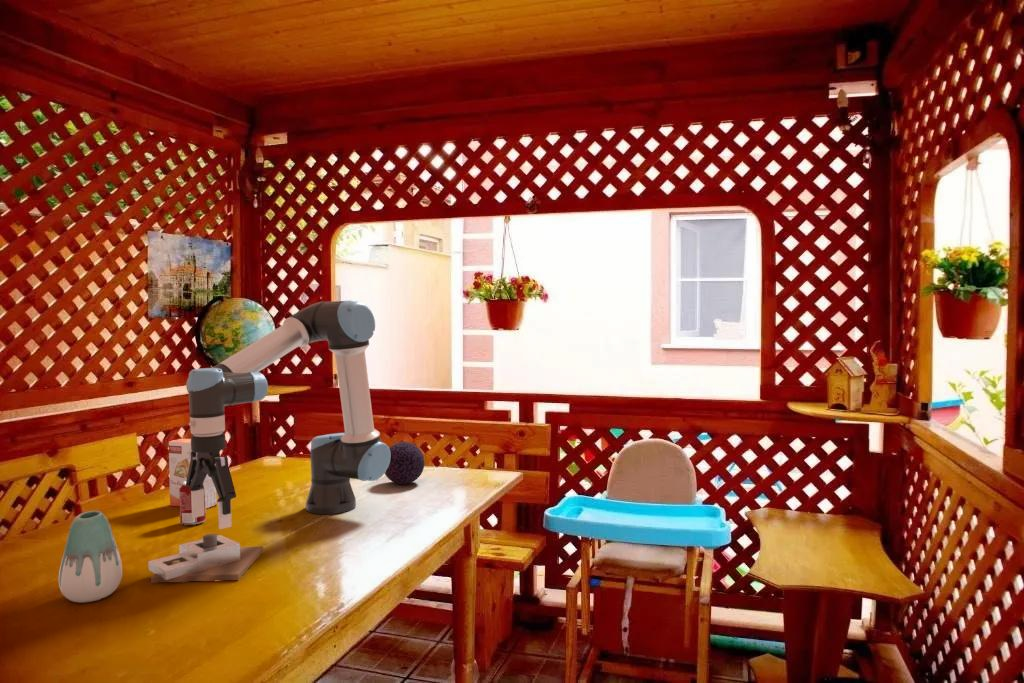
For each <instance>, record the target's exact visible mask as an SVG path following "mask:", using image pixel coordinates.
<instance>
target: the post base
mask: <svg viewBox="0 0 1024 683" xmlns="http://www.w3.org/2000/svg"><path fill="white" fill-rule="evenodd" d="M217 536H218V535H217V534H216V533H209V534H205V535H203V536H202V539H203V549H206V548H210V547H214V546H217ZM263 548H264V547H263V546H240V560H238V561H235V562H231V563H228V564H224V565H220V566H217V567H213V568H209V569H206V570H202V571H197V572H193V573H190V574H186V575H182V576H179V577H175V578H172V579H168V580H165V579H163V578H162V577H160V576H158V575H157V574H155V573H153V575H152V576H150V577H151V579H150V580H151V584H157V583H156V582H182V583H189V582H188V581H214V582H216V581H215V580H222V581H221V582H224V581H223V580H239V579H240V578H242V577H243V576H244V575H245V574H246V573H247V572H248V571H249V569H250V568H251V567H252V566H253V565H254V563H255V562H256V561H257V560H258V559H259V558H260V556H261V555H262V554H263V553H262V552H263V551H264V549H263ZM261 553H262V554H261ZM260 554H261V555H260ZM257 558H258V559H257ZM256 559H257V560H256ZM255 560H256V561H255ZM254 561H255V562H254ZM253 562H254V563H253ZM177 563H180V561H179V560H175V561H172V565H173V564H177ZM251 565H252V566H251ZM250 566H251V567H250ZM249 567H250V568H249ZM248 568H249V569H248ZM245 572H246V573H245ZM244 573H245V574H244ZM243 574H244V575H243ZM242 575H243V576H242ZM240 580H241V579H240ZM240 580H239V581H240Z"/></svg>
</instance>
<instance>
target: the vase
mask: <svg viewBox="0 0 1024 683" xmlns="http://www.w3.org/2000/svg"><path fill="white" fill-rule="evenodd" d="M111 527H112V526H111V523H110V522H109V520H108V518H107V517H106V515H105V514H104V513H103V512H102V511H101V510H89V511H88V510H87V511H85V512H81V513H80V514H78V515H76V516H75V517H74V519H73V520H72V522H71V523H70V528H69V531H68V533H67V539H66V543H65V547H64V550H63V555H62V558H61V563H60V567H59V571H58V587H59V590H60V593H61V594H62V595H63V596H64V597H65V598H66V599H67V600H68V601H71V602H73V603H83V604H84V603H92V602H96V601H100V600H103V599H106V598H107V597H109V596H110V595H111V594H113V593H114V592H115V591H117V589H118V587H119V585H120V583H121V581H122V578H123V563H122V558H121V555H120V551H119V547H118V545H117V543H116V540H115V538H114V534H113V530H112V528H111ZM102 598H103V599H102Z"/></svg>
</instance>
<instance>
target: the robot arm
mask: <svg viewBox="0 0 1024 683" xmlns="http://www.w3.org/2000/svg"><path fill="white" fill-rule="evenodd" d="M375 330H376V320H375V316H374V313H373V312H372V310H371V309H370V307H369V306H367V304H365V303H363V302H362V301H357V300H356V301H354V300H340V301H339V300H338V301H337V300H336V301H319V302H316V303H313V304H311V305H308V306H306V307H304V308H302V309H301V310H299V311H297V312H296V313H294V314H292V315H290V316H289V317H287V318H286V319H284V321H283V322H282V325H280V326H279V327H277V328H275V329H273V330H272V331H271V332H269V333H267V334H266V335H264V336H262V337H260V338H259V339H257V340H256V341H254V342H253V343H251V344H249V345H247V346H246V347H244V348H243V349H241V350H239V351H238V352H236V353H233V355H231V356H229V357H227V358H226V359H224V360H223V361H221V362H219V363H218V364H216V365H215V366H212V367H205V368H204V367H203V368H195V369H191V370H190V371H189V373H188V378H187V379H186V383H185V384H186V386H185V387H186V391H187V394H188V403H189V405H188V406H189V408H188V409H189V422H188V426H189V427H190V434H192V435H191V437H190V439H191V450H192V451H191V461H190V465H189V470H188V475H187V480H186V486H187V487H188V486H189V488H190V490H191V502H192V518H196V517H200V516H204V490H203V489H200V488H204V486H203V482H204V480H205V477H206V475H207V474H208V476H209V477H211V478H212V481H213V483H214V486H215V488H216V491H217V497H218V498H217V516H218V517H217V518H218V529H219V530H222V529H227V528H230V527H232V526H233V525H232V523H233V522H232V501H231V500H232V499H235V498H237V493H236V488H235V485H234V482H233V478H232V474H231V470H230V466H229V458H228V456H221V451H223V450H224V449H226V446H227V445H226V434H225V433H224V432H225V430H226V419H225V418H226V416H225V407H227V406H233V405H234V406H235V405H240V404H247V403H251V404H253V403H254V402H258V401H262V400H263V399H265V397H266V396H267V394H268V391H269V387H268V386H269V385H268V380H267V378H266V377H265V375H264V374H263V373H261V371H262V370H264V369H266V368H267V367H269V366H270V365H272V364H274V363H275V362H277V361H278V360H280V359H281V358H283V357H284V356H286V355H287V354H289V353H291V352H292V351H294V350H295V349H297V348H304V347H306V346H308V345H309V344H312V343H315V342H321V341H322V342H323V341H327V343H328V350H329V351H330V352H332V353H333V354H334V356H335V357H334V358H335V365H336V371H337V380H338V387H339V388H338V389H339V395H340V396H339V398H340V402H341V403H340V404H341V405H340V406H341V411H342V412H341V413H342V418H343V419H342V420H343V427H344V432H337V433H336V432H335V433H329V434H324V435H323V434H322V435H317V436H315V437H313V438H312V439H311V443H310V451H309V453H310V476H311V477H310V478H311V479H310V480H311V484H310V485H311V486H310V487H309V491H308V495H307V498H306V501H305V510H306V512H307V513H310V514H316V515H334V514H341V513H346V512H349V511H352V510H354V509H355V508H356V507H357V506H356V505H357V499H356V496H355V493H354V491H353V488H352V484H351V479H353V480H359V481H361V482H367V481H368V482H374V481H378V480H380V479H381V478H382V477H383V475H385V472H386V470H387V468H388V466H389V463H390V458H391V453H390V449H389V447H390V446H388V444H386V443H385V442H382V441H381V433H380V431H379V430H377V429H376V428H375V425H374V418H373V409H372V401H371V393H370V386H369V385H370V384H369V383H370V382H369V376H368V375H369V374H368V366H367V360H366V350H367V349H368V347H369V346H370V339H371V338H372V337H373V335H374V332H375ZM191 480H192V481H191Z"/></svg>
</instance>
